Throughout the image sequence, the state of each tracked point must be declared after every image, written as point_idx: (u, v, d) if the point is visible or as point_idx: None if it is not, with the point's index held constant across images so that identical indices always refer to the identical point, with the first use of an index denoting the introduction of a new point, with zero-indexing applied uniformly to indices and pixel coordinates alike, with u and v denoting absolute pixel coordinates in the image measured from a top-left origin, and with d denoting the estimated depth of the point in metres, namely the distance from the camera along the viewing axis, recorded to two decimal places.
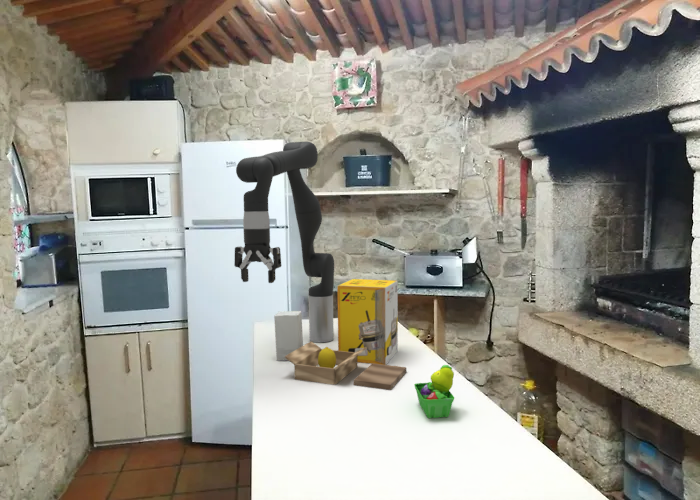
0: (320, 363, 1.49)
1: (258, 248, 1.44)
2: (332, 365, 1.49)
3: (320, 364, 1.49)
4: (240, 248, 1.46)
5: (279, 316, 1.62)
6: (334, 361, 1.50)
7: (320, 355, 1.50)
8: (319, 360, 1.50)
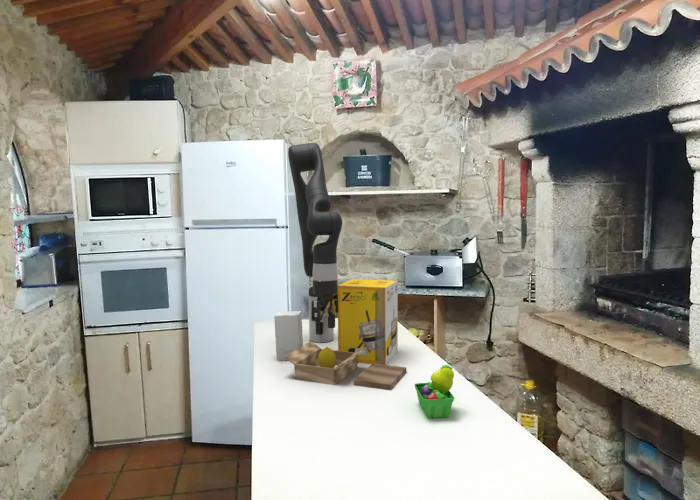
0: (320, 363, 1.49)
1: (330, 297, 1.50)
2: (332, 365, 1.49)
3: (320, 364, 1.49)
4: None
5: (279, 316, 1.62)
6: (334, 361, 1.50)
7: (320, 355, 1.50)
8: (319, 360, 1.50)
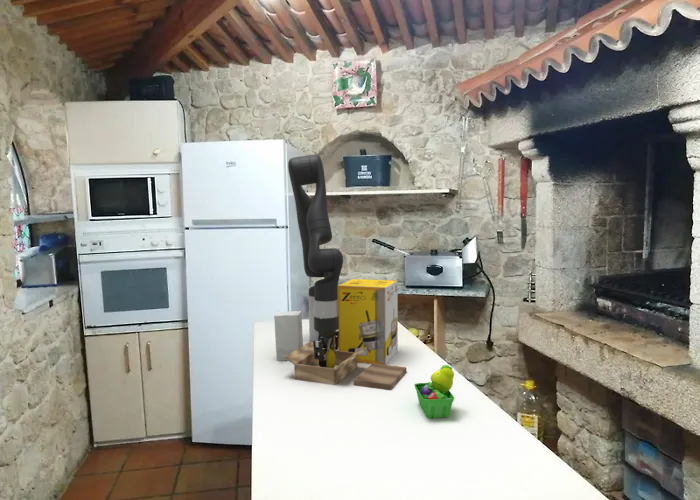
0: None
1: (331, 333, 1.51)
2: (332, 365, 1.49)
3: None
4: None
5: (279, 316, 1.62)
6: (334, 361, 1.50)
7: None
8: None
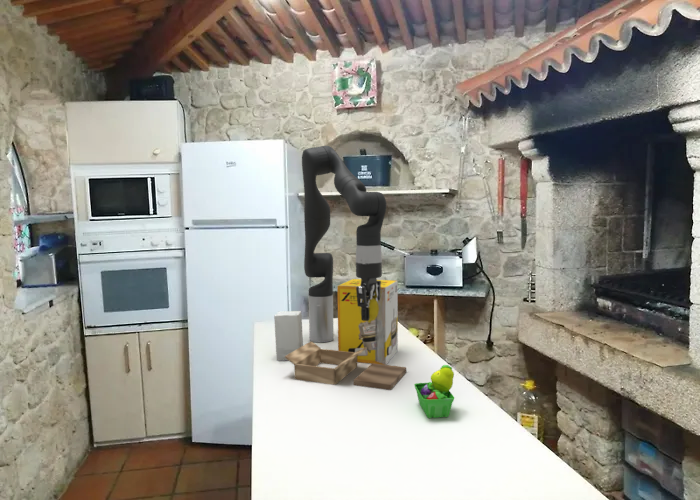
0: None
1: (373, 281, 1.45)
2: (375, 314, 1.43)
3: None
4: (363, 287, 1.39)
5: (279, 316, 1.63)
6: (377, 310, 1.43)
7: None
8: None
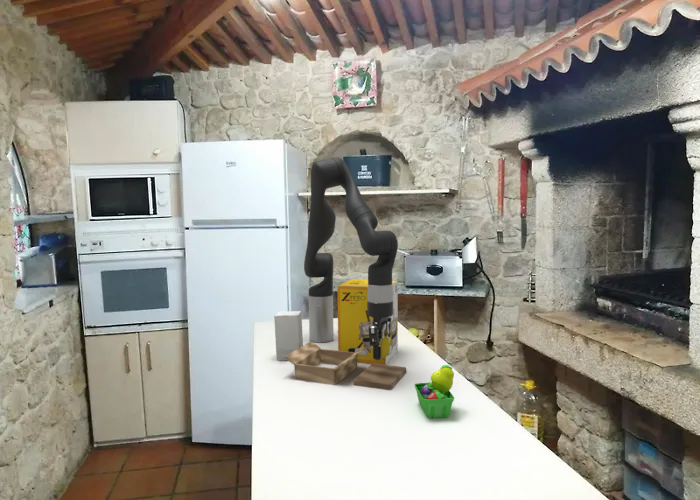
0: None
1: (384, 319, 1.45)
2: (386, 352, 1.43)
3: None
4: (375, 326, 1.40)
5: (279, 316, 1.62)
6: (388, 348, 1.44)
7: None
8: None
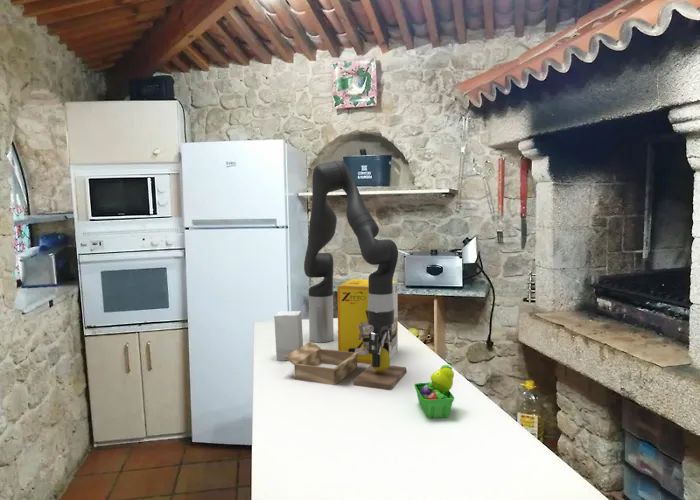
0: None
1: (385, 328, 1.45)
2: (387, 365, 1.44)
3: None
4: None
5: (279, 316, 1.62)
6: (388, 361, 1.44)
7: None
8: None
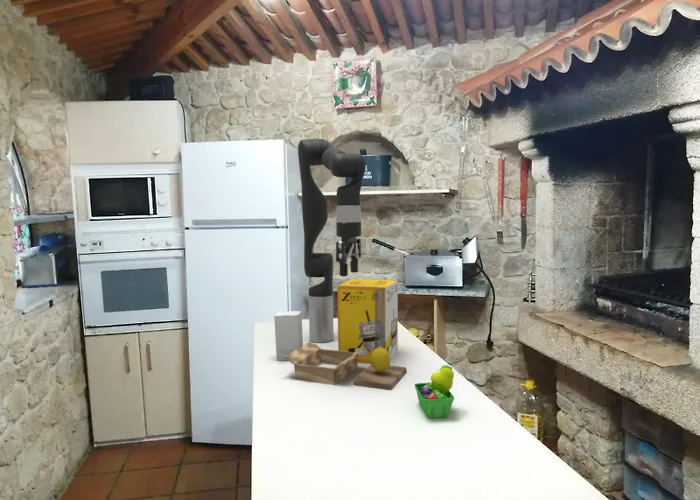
0: (374, 363, 1.44)
1: (353, 240, 1.50)
2: (387, 365, 1.44)
3: (374, 364, 1.44)
4: None
5: (279, 316, 1.62)
6: (388, 361, 1.44)
7: (374, 355, 1.44)
8: (373, 360, 1.44)
